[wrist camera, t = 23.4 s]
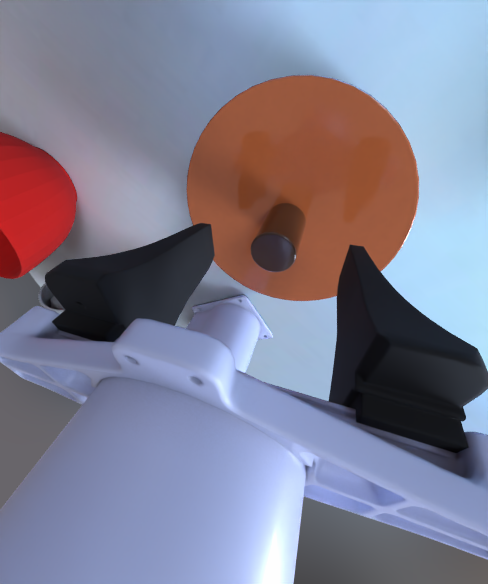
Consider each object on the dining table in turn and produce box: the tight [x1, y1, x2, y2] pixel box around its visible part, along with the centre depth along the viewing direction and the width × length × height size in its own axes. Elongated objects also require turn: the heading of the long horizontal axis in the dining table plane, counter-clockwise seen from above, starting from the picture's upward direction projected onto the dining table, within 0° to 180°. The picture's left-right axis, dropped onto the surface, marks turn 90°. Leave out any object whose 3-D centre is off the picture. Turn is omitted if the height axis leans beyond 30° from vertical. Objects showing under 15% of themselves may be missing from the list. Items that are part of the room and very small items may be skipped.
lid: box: [187, 75, 419, 301], centre depth 14 cm, size 13×13×5 cm
